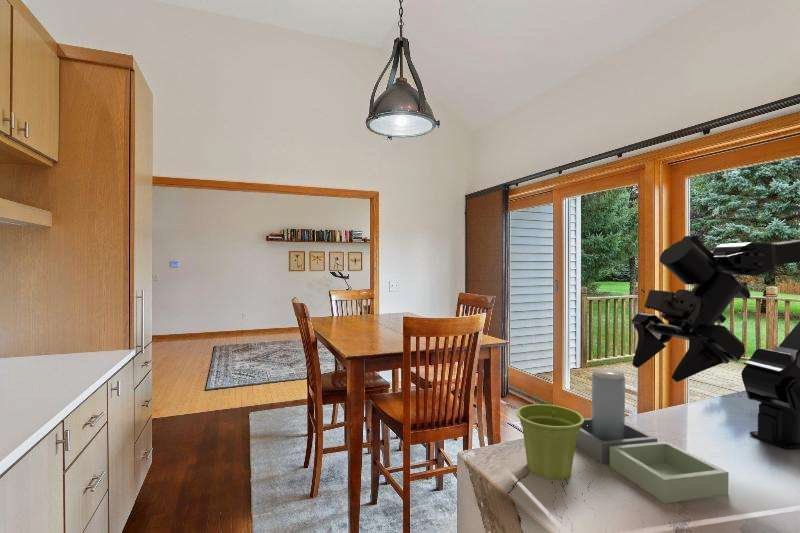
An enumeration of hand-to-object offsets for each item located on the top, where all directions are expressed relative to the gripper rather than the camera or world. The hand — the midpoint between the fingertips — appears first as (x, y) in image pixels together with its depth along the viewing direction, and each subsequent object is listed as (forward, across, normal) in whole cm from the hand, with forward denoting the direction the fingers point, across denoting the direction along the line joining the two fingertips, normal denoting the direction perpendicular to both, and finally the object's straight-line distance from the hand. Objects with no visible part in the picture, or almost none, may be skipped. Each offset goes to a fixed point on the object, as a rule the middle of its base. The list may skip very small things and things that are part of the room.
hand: (653, 372), depth 72 cm
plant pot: (+24, +6, -8) cm, 26 cm away
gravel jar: (+15, 0, +2) cm, 15 cm away
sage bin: (+14, +11, +3) cm, 18 cm away
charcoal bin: (+15, 0, +2) cm, 15 cm away
